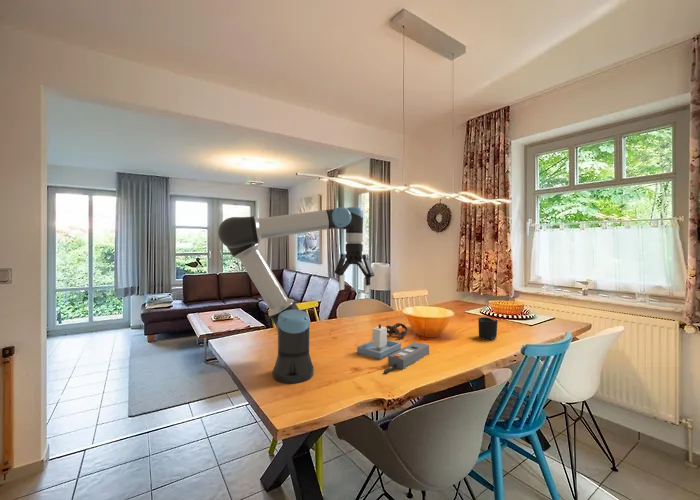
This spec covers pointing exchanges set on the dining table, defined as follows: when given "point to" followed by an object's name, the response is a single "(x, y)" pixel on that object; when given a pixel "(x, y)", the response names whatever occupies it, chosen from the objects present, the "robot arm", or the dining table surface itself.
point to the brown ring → (395, 331)
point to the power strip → (407, 356)
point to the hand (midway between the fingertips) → (353, 291)
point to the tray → (377, 354)
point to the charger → (379, 337)
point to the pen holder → (487, 328)
